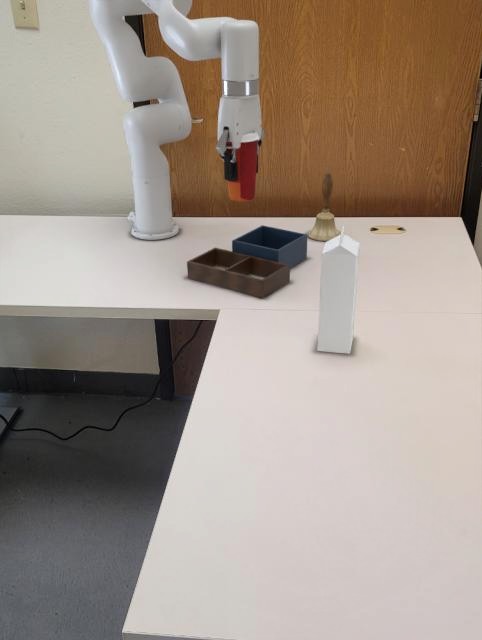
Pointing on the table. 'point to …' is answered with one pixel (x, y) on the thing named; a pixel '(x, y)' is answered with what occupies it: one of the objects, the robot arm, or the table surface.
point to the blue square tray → (273, 245)
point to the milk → (338, 294)
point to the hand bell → (325, 215)
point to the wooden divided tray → (239, 272)
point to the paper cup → (245, 168)
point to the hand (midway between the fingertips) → (241, 175)
